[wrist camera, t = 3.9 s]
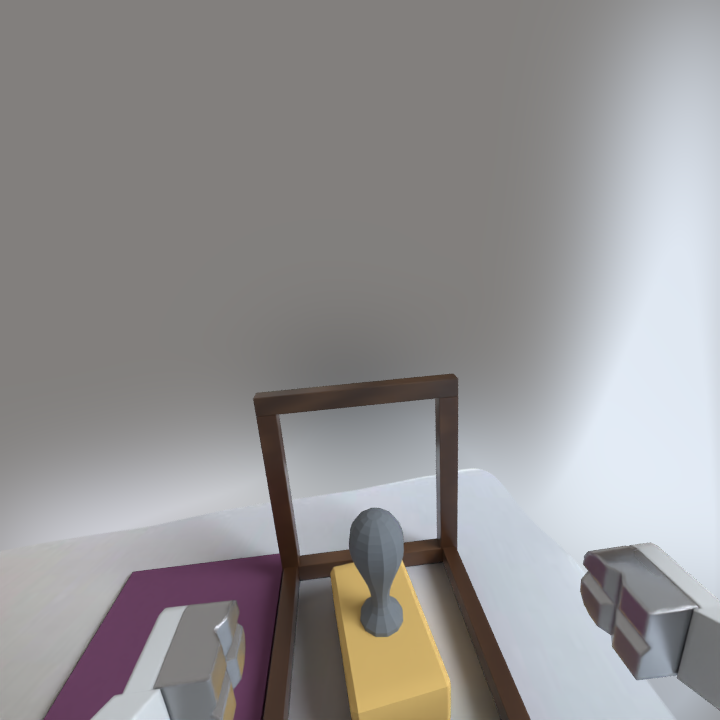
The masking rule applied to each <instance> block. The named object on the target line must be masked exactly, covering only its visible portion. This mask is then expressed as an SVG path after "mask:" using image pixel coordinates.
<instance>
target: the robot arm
mask: <svg viewBox="0 0 720 720" xmlns="http://www.w3.org/2000/svg"><path fill="white" fill-rule="evenodd" d="M583 565H584V566H585V567H586V568H587V570H588V572H587V573H586V574H585V575H584V577H583V578H582V579H581V588H580V592H581V595H582V599H583V603H584V605H585V607H586V609H587V611H588V613H589V615H590V616H591V618H592V619H593V621H594V622H595V624H596V625H597V626H598V627H600V628H601V629H603V630H604V631H606V632H607V633H609V634H610V635H611V639H612V647H613V649H614V650H615V651H616V653H617V654H618V655H619V657H620V658H621V660H622V661H623V662H624V664H625V665H626V666H627V668H628V669H629V671H630V672H631V673H632V675H633V676H634V677H635V679H636V680H643V679H651V678H659V677H666V676H675V675H677V679H679V680H680V681H681V682H683V683H684V684H685V685H687V686H688V687H689V688H691V689H692V690H693V691H695V692H696V693H697V694H699V695H700V696H701V697H703V698H704V699H705V700H707V701H708V702H709V703H711V704H712V705H713V706H715V707H716V708H717V709H719V710H720V601H719V600H718V599H717V598H716V597H715V596H714V595H713V594H712V593H711V592H709V591H708V590H707V589H706V588H705V587H704V586H703V585H702V584H700V583H699V582H698V581H697V580H696V579H695V578H694V577H692V576H691V575H690V574H689V573H688V572H687V571H686V570H684V569H683V568H682V567H681V566H680V565H679V564H678V563H677V562H676V561H674V560H673V559H672V558H671V557H670V556H669V555H668V554H666V553H665V552H664V551H663V550H662V549H661V548H660V547H658V546H657V545H655V544H652V543H644V544H637V545H630V546H621V547H614V548H607V549H600V550H594V551H588V552H587V553H586V554H585V556H584V562H583ZM239 612H240V611H239V608H238V604H237V601H236V600H230V601H221V602H212V603H202V604H193V605H186V606H178V607H169V608H165V609H164V610H163V611H162V612H161V613H160V615H159V616H158V618H157V620H156V622H155V624H154V627H153V629H152V631H151V633H150V635H149V637H148V639H147V642H146V644H145V646H144V648H143V650H142V652H141V654H140V657H139V659H138V661H137V663H136V665H135V667H134V669H133V672H132V674H131V676H130V678H129V680H128V682H127V685H126V687H125V689H124V691H123V693H122V694H119V695H114V696H113V697H112V698H111V699H110V700H109V701H108V702H107V703H106V704H105V705H104V706H103V707H102V708H101V709H100V710H99V711H98V712H97V713H96V714H95V715H94V716H93V717H92V718H91V719H90V720H233V719H234V714H235V709H236V700H235V696H234V692H233V690H234V688H235V687H236V686H237V684H238V683H239V682H240V680H241V679H242V674H243V668H244V662H245V648H246V645H245V634H244V629H243V626H241V625H240V624H239V623H237V621H238V616H239Z"/></svg>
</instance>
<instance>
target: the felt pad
mask: <svg viewBox="0 0 720 720" xmlns="http://www.w3.org/2000/svg"><path fill="white" fill-rule="evenodd" d="M282 575H283V571H282V565H281V559H280V554H272V555H264V556H256V557H248V558H240V559H232V560H224V561H216V562H208V563H200V564H192V565H184V566H176V567H168V568H160V569H152V570H144V571H136V572H133V573H132V574H131V576H130V578H129V579H128V581H127V583H126V584H125V586H124V588H123V589H122V591H121V593H120V594H119V596H118V597H117V599H116V601H115V602H114V604H113V606H112V607H111V609H110V611H109V612H108V614H107V616H106V617H105V619H104V621H103V622H102V624H101V626H100V627H99V629H98V631H97V632H96V634H95V635H94V637H93V639H92V640H91V642H90V644H89V645H88V647H87V649H86V650H85V652H84V654H83V655H82V657H81V659H80V660H79V662H78V664H77V665H76V667H75V669H74V670H73V672H72V673H71V675H70V677H69V678H68V680H67V682H66V683H65V685H64V687H63V688H62V690H61V692H60V693H59V695H58V697H57V698H56V700H55V702H54V703H53V705H52V706H51V708H50V710H49V711H48V713H47V715H46V716H45V718H44V720H90V719H91V718H92V717H93V716H94V715H95V714H96V713H97V712H98V711H99V710H100V709H101V708H102V707H103V706H104V705H105V704H106V703H107V702H108V701H109V700H110V699H111V698H112V697H113V696H114V695H119V694H122V693H123V691H124V689H125V687H126V685H127V682H128V680H129V678H130V676H131V674H132V672H133V669H134V667H135V665H136V663H137V661H138V659H139V657H140V654H141V652H142V650H143V648H144V646H145V644H146V642H147V639H148V637H149V635H150V633H151V631H152V629H153V627H154V624H155V622H156V620H157V618H158V616H159V615H160V613H161V612H162V611H163V610H164V609H165V608H169V607H178V606H186V605H193V604H202V603H212V602H221V601H230V600H236V601H237V604H238V608H239V611H240V612H239V616H238V621H237V623H239V624H240V625H241V626H243V629H244V634H245V645H246V648H245V662H244V668H243V674H242V679H241V680H240V682H239V683H238V684H237V686H236V687H235V688H234V690H233V692H234V696H235V700H236V709H235V714H234V719H233V720H262V719H263V712H264V705H265V698H266V691H267V683H268V676H269V669H270V662H271V654H272V647H273V640H274V633H275V626H276V618H277V611H278V604H279V597H280V590H281V582H282Z"/></svg>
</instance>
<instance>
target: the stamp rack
mask: <svg viewBox="0 0 720 720" xmlns="http://www.w3.org/2000/svg"><path fill="white" fill-rule="evenodd" d="M433 398H435V413H436V491H437V539H429V540H421V541H413V542H405V543H404V553H403V558H402V560H403V563H404V565H405V567H407V566H415V565H422V564H430V563H438V562H443V564H444V567H445V570H446V572H447V575H448V578H449V580H450V583H451V586H452V589H453V591H454V594H455V597H456V599H457V602H458V605H459V607H460V610H461V613H462V616H463V618H464V621H465V624H466V626H467V629H468V632H469V634H470V637H471V640H472V643H473V645H474V648H475V651H476V653H477V656H478V659H479V661H480V664H481V667H482V670H483V672H484V675H485V678H486V680H487V683H488V686H489V688H490V691H491V694H492V697H493V699H494V702H495V705H496V707H497V710H498V713H499V715H500V718H501V720H530V717H529V715H528V713H527V710H526V708H525V706H524V703H523V701H522V699H521V696H520V694H519V692H518V689H517V687H516V685H515V683H514V680H513V678H512V676H511V673H510V671H509V669H508V666H507V664H506V662H505V659H504V657H503V655H502V653H501V650H500V648H499V646H498V643H497V641H496V639H495V636H494V634H493V632H492V629H491V627H490V625H489V623H488V620H487V618H486V616H485V613H484V611H483V609H482V606H481V604H480V602H479V599H478V597H477V595H476V593H475V590H474V588H473V586H472V583H471V581H470V579H469V576H468V574H467V572H466V569H465V567H464V565H463V563H462V560H461V558H460V556H459V553H458V551H457V499H458V378H457V377H456V376H455V375H454V374H445V375H435V376H424V377H414V378H404V379H393V380H384V381H373V382H362V383H352V384H342V385H333V386H322V387H312V388H301V389H291V390H281V391H272V392H262V393H256V395H255V396H254V398H253V401H254V406H255V412H256V416H257V417H256V418H257V424H258V430H259V436H260V442H261V448H262V453H263V459H264V465H265V471H266V477H267V482H268V489H269V494H270V500H271V506H272V512H273V518H274V524H275V530H276V535H277V541H278V547H279V553H280V559H281V565H282V571H283V578H282V586H281V593H280V600H279V607H278V615H277V622H276V629H275V637H274V644H273V651H272V658H271V666H270V673H269V680H268V688H267V695H266V702H265V710H264V717H263V720H288V714H289V702H290V690H291V678H292V666H293V654H294V643H295V631H296V619H297V607H298V595H299V583H300V580H307V579H315V578H322V577H330V576H331V575H330V573H331V571H332V569H333V567H336V566H340V565H345V564H349V563H353V560H352V558H351V555H350V551H349V550H342V551H334V552H326V553H318V554H310V555H302V556H300V551H299V544H298V538H297V531H296V524H295V518H294V511H293V504H292V498H291V491H290V485H289V478H288V471H287V465H286V459H285V452H284V445H283V438H282V432H281V425H280V418H279V414H287V413H297V412H307V411H317V410H325V409H336V408H345V407H356V406H366V405H375V404H385V403H395V402H405V401H413V400H424V399H433Z"/></svg>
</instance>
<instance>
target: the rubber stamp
mask: <svg viewBox="0 0 720 720" xmlns="http://www.w3.org/2000/svg"><path fill="white" fill-rule="evenodd" d="M349 551H350V555H351V558H352V560H353V563H349V564H345V565H340V566H336V567H333V569H332V571H331V573H330V575H331V584H332V592H333V600H334V607H335V614H336V620H337V627H338V633H339V640H340V647H341V653H342V660H343V666H344V673H345V680H346V686H347V693H348V699H349V706H350V712H351V719H352V720H450V717H451V683H450V679H449V676H448V674H447V671H446V669H445V666H444V664H443V661H442V659H441V656H440V654H439V651H438V649H437V646H436V644H435V641H434V639H433V636H432V634H431V631H430V628H429V626H428V623H427V621H426V618H425V616H424V613H423V611H422V608H421V606H420V603H419V601H418V598H417V596H416V593H415V591H414V588H413V586H412V583H411V581H410V578H409V576H408V573H407V571H406V568H405V565H404V563H403V560H402V558H403V553H404V543H403V532H402V528H401V526H400V524H399V522H398V521H397V520H396V518H395V517H394V516H393V515H392V514H391V513H390V512H389V511H386V510H383V509H381V508H370V509H368V510H365V511H363V512H361V513H360V514H359V515H358V517H357V518H356V519H355V520H354V522H353V523H352V526H351V529H350V538H349Z"/></svg>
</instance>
